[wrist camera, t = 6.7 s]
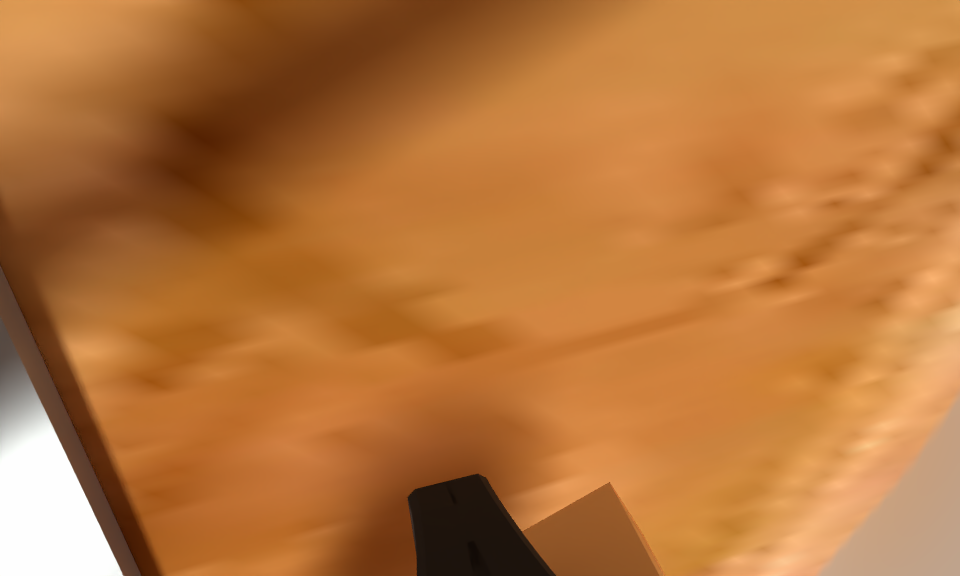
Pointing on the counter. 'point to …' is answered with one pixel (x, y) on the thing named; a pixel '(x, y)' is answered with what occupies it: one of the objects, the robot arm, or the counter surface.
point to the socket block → (47, 472)
